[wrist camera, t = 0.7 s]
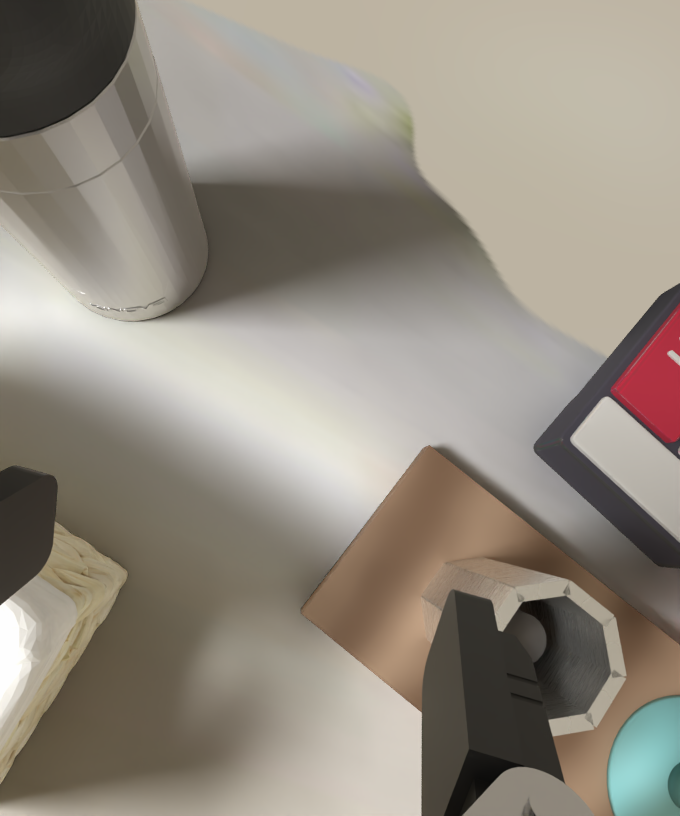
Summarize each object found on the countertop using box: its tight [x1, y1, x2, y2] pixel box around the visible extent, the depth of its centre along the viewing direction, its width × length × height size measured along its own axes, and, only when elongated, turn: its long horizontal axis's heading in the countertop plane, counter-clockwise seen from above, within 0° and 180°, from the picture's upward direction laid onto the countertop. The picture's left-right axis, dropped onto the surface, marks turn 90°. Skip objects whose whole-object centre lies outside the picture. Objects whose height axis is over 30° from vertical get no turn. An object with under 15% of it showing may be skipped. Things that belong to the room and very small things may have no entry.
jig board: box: [301, 445, 680, 816], centre depth 29 cm, size 30×12×8 cm, turn 52°
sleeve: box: [421, 557, 627, 736], centre depth 27 cm, size 6×6×10 cm
